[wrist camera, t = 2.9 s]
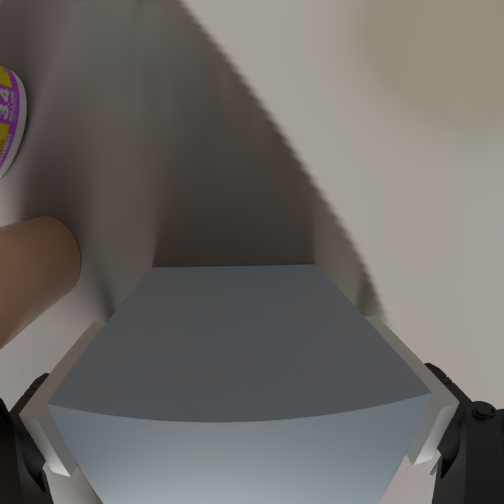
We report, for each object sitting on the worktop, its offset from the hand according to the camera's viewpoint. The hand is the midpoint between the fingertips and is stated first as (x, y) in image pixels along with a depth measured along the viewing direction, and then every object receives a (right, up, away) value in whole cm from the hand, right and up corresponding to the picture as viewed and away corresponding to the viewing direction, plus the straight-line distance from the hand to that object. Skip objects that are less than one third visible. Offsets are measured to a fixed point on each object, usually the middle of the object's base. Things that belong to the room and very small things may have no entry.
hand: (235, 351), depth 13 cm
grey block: (0, 0, +1) cm, 1 cm away
